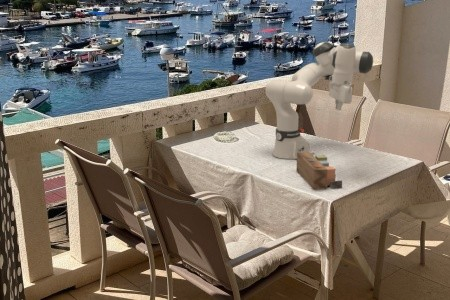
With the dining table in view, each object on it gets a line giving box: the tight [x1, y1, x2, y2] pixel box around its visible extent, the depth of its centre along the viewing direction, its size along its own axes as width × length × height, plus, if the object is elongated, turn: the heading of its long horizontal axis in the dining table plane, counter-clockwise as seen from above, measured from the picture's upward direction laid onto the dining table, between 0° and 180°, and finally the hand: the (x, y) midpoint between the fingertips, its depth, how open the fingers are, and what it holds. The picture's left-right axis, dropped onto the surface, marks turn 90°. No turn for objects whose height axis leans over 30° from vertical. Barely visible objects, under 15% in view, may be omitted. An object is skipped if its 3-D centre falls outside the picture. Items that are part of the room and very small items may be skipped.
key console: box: [295, 152, 343, 190], centre depth 266 cm, size 13×26×9 cm, turn 10°
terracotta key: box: [326, 165, 336, 187], centre depth 259 cm, size 4×4×8 cm
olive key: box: [314, 154, 328, 162], centre depth 275 cm, size 4×4×8 cm
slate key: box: [319, 160, 330, 167], centre depth 267 cm, size 4×4×8 cm
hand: (338, 109), depth 266 cm, fingers closed
